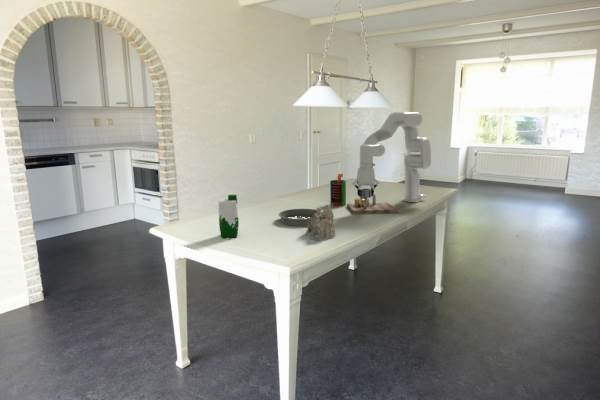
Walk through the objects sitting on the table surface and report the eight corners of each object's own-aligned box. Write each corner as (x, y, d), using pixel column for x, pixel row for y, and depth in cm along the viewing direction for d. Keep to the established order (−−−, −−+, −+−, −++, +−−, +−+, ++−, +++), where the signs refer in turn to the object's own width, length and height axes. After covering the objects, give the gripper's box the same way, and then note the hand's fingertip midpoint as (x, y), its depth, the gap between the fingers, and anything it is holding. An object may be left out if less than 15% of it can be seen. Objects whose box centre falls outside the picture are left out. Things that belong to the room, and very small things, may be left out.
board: (387, 205, 261) (387, 192, 259) (397, 212, 242) (397, 198, 240) (346, 207, 259) (347, 193, 257) (353, 214, 239) (354, 200, 238)
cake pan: (269, 221, 227) (269, 213, 226) (303, 214, 243) (303, 206, 242) (298, 229, 209) (298, 221, 208) (332, 221, 224) (332, 213, 224)
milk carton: (238, 238, 194) (236, 196, 190) (219, 239, 194) (216, 197, 190) (239, 233, 203) (238, 193, 199) (221, 233, 202) (219, 194, 198)
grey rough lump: (315, 228, 209) (315, 200, 205) (342, 235, 199) (342, 205, 195) (295, 237, 198) (294, 207, 194) (322, 245, 187) (321, 213, 183)
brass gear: (367, 203, 258) (367, 197, 257) (370, 206, 249) (370, 200, 248) (353, 204, 257) (353, 198, 256) (356, 207, 249) (356, 200, 248)
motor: (328, 205, 265) (328, 174, 261) (333, 202, 273) (334, 172, 269) (343, 206, 260) (343, 175, 256) (348, 204, 268) (348, 173, 264)
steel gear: (369, 195, 247) (369, 188, 246) (372, 197, 240) (372, 190, 239) (358, 195, 246) (358, 188, 245) (361, 198, 239) (361, 190, 238)
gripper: (378, 164, 244) (378, 194, 247) (350, 165, 242) (349, 195, 246) (382, 166, 237) (381, 196, 240) (352, 166, 235) (352, 197, 239)
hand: (365, 195), depth 243 cm, fingers closed on steel gear, 6 cm apart
